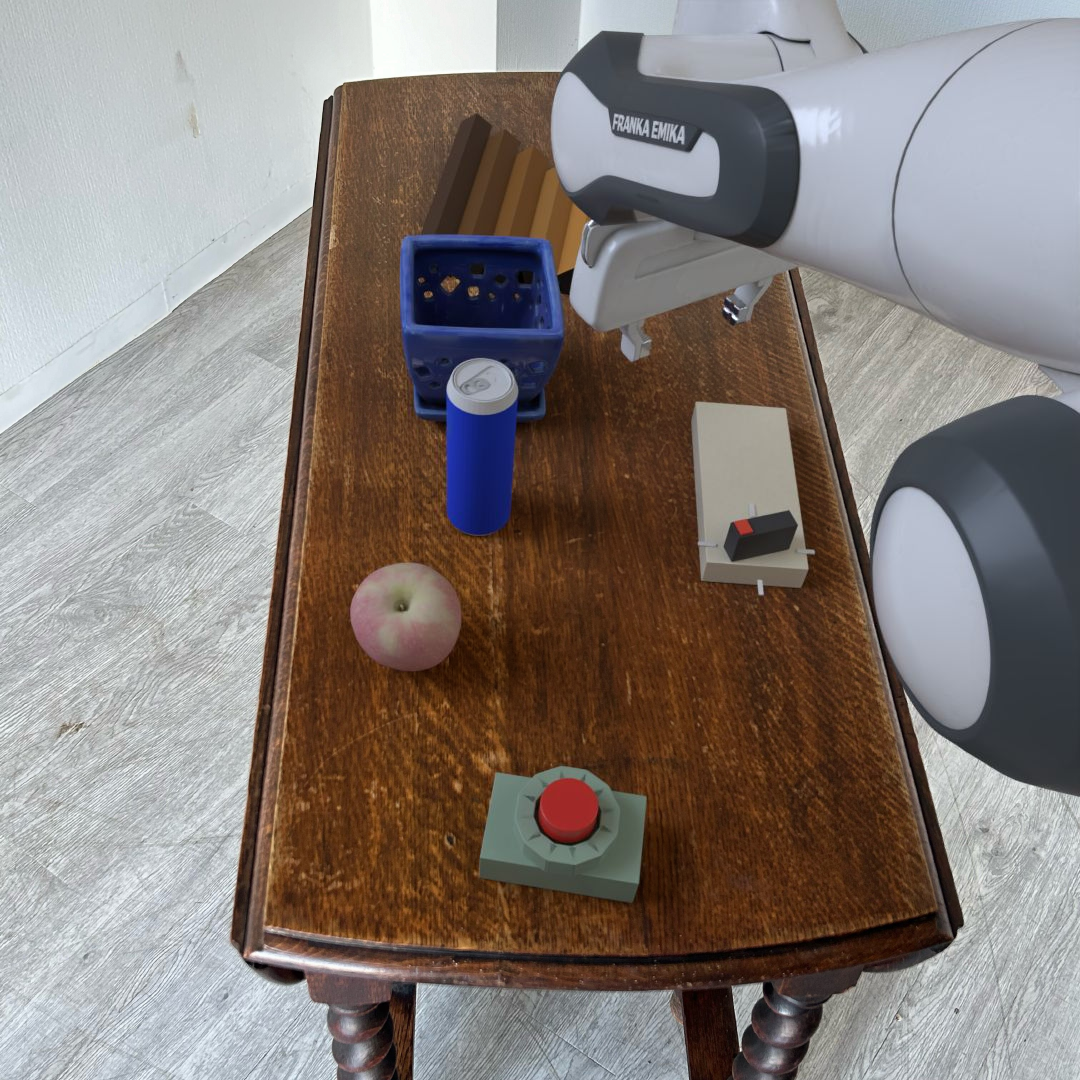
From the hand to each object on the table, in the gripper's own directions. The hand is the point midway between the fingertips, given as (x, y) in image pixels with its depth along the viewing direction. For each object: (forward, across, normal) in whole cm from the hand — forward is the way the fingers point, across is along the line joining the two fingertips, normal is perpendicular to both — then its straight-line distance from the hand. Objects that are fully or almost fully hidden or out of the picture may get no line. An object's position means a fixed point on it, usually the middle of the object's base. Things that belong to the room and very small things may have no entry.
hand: (686, 336), depth 85 cm
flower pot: (+14, -9, +16) cm, 23 cm away
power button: (+11, -25, -25) cm, 37 cm away
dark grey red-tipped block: (+12, 0, -12) cm, 17 cm away
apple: (+15, -27, -7) cm, 32 cm away
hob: (+15, +4, -7) cm, 17 cm away
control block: (+15, -25, -25) cm, 39 cm away
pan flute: (+14, +11, +35) cm, 39 cm away
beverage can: (+15, -16, +3) cm, 22 cm away
